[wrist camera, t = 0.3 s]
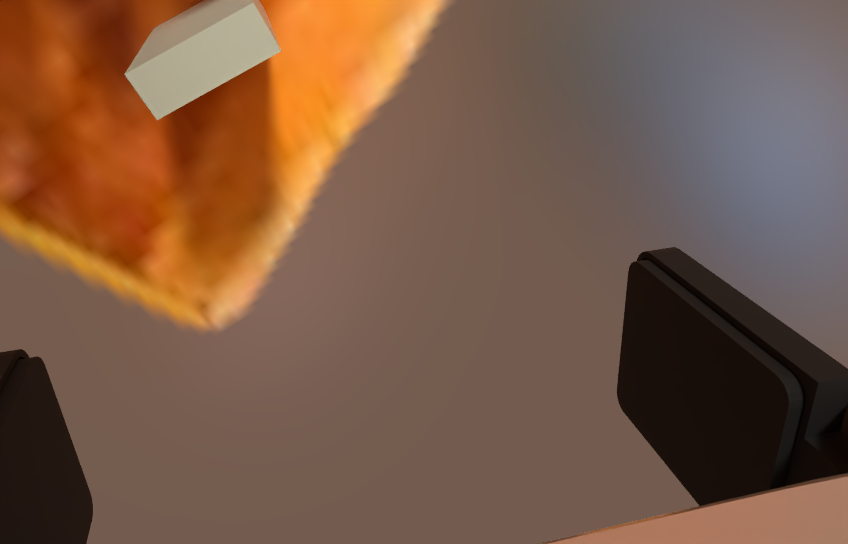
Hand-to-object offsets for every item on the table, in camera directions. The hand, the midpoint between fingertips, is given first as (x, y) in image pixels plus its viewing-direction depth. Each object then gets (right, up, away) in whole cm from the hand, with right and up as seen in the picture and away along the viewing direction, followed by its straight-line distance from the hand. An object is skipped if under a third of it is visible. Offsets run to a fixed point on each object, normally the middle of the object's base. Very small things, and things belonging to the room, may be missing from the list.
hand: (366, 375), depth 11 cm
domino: (-9, +14, +22) cm, 28 cm away
